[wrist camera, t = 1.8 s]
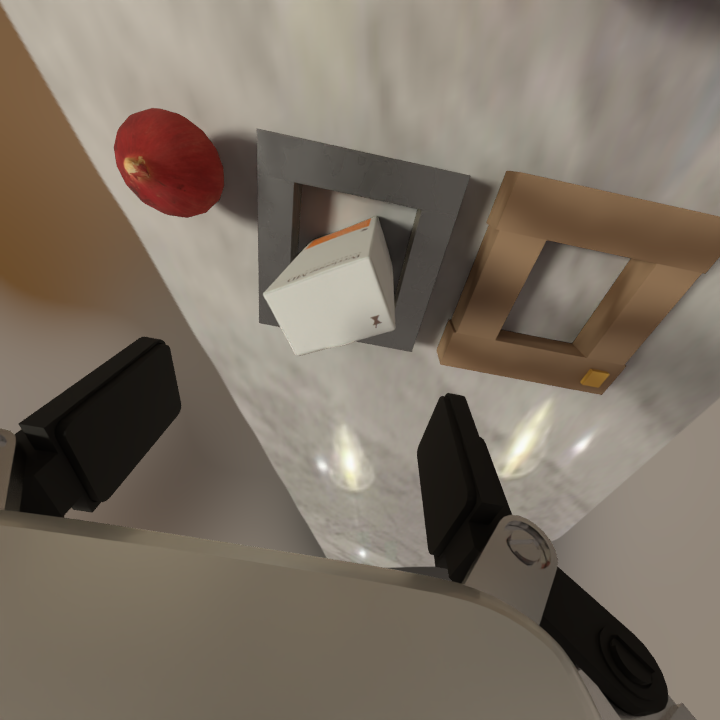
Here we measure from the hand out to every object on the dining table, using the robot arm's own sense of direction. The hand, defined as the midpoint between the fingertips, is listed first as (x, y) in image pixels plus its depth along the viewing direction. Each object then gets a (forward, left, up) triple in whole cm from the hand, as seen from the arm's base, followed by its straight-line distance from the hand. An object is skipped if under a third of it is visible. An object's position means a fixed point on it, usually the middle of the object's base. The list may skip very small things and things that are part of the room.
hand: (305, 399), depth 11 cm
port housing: (0, +18, -18) cm, 25 cm away
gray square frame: (0, 0, -18) cm, 18 cm away
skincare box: (0, 0, -18) cm, 18 cm away
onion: (-4, -12, -18) cm, 22 cm away
